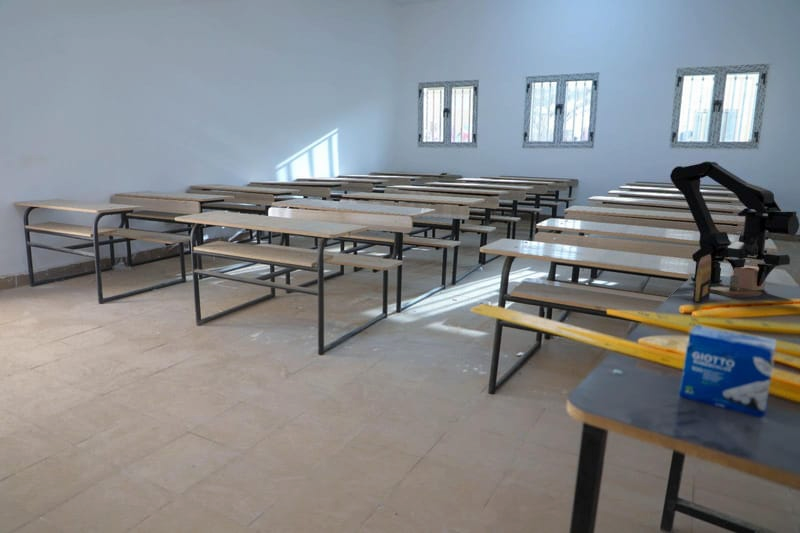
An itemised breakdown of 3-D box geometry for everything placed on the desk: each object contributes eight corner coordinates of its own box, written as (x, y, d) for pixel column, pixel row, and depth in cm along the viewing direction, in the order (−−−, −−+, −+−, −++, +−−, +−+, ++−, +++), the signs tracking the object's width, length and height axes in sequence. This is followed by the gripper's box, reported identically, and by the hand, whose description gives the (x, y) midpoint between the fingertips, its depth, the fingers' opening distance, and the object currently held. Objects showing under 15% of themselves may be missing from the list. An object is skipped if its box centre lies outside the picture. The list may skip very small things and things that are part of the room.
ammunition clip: (700, 302, 145) (705, 258, 143) (692, 301, 146) (697, 257, 144) (709, 296, 153) (714, 253, 151) (702, 295, 154) (706, 253, 152)
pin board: (705, 291, 160) (706, 274, 159) (728, 288, 164) (730, 272, 163) (737, 298, 151) (740, 280, 150) (761, 295, 155) (763, 278, 154)
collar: (731, 287, 166) (733, 267, 165) (744, 285, 168) (747, 266, 167) (751, 291, 160) (753, 271, 159) (764, 289, 163) (766, 269, 162)
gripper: (707, 230, 167) (701, 280, 169) (769, 236, 150) (762, 292, 152) (731, 229, 171) (725, 277, 174) (794, 235, 154) (787, 289, 157)
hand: (748, 284), depth 164 cm, fingers closed on collar, 6 cm apart
